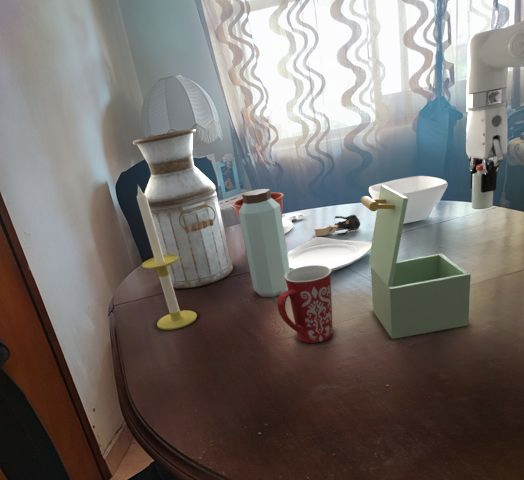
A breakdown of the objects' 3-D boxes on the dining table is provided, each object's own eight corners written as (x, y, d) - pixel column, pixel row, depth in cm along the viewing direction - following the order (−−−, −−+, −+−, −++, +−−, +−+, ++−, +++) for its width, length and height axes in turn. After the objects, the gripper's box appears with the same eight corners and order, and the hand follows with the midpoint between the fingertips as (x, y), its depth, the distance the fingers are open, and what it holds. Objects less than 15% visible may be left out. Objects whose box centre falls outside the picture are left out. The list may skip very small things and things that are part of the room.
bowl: (363, 221, 163) (361, 187, 157) (422, 207, 164) (422, 173, 159) (389, 235, 143) (388, 197, 138) (456, 220, 145) (457, 182, 140)
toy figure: (318, 241, 151) (363, 230, 151) (315, 222, 149) (360, 211, 149) (315, 238, 158) (358, 228, 158) (311, 220, 156) (355, 209, 155)
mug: (315, 320, 100) (308, 261, 94) (346, 331, 94) (340, 268, 87) (271, 344, 94) (260, 283, 88) (301, 357, 88) (291, 292, 81)
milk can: (247, 272, 136) (218, 125, 117) (180, 296, 128) (138, 142, 109) (214, 257, 155) (184, 128, 136) (154, 276, 148) (114, 143, 129)
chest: (440, 299, 99) (441, 253, 94) (468, 325, 88) (470, 274, 83) (373, 311, 100) (370, 266, 95) (392, 339, 88) (389, 289, 83)
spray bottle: (255, 238, 167) (282, 219, 186) (283, 237, 162) (308, 218, 181) (254, 230, 166) (281, 212, 184) (282, 228, 161) (307, 210, 179)
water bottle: (293, 294, 115) (278, 192, 103) (254, 301, 116) (234, 200, 104) (291, 280, 124) (276, 184, 112) (254, 286, 125) (236, 191, 113)
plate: (264, 270, 135) (262, 261, 134) (316, 243, 149) (315, 235, 148) (331, 281, 119) (330, 271, 118) (383, 250, 133) (382, 241, 131)
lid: (384, 185, 87) (357, 184, 87) (408, 198, 76) (377, 197, 75) (372, 264, 94) (347, 263, 94) (392, 286, 83) (363, 286, 83)
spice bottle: (489, 203, 109) (491, 161, 105) (495, 207, 105) (497, 164, 101) (469, 206, 110) (470, 164, 105) (474, 210, 106) (475, 167, 102)
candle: (188, 307, 120) (153, 177, 104) (203, 319, 111) (166, 180, 96) (152, 321, 116) (110, 188, 101) (164, 334, 108) (120, 191, 93)
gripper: (526, 95, 90) (519, 192, 98) (484, 97, 104) (481, 181, 113) (487, 103, 90) (484, 199, 98) (451, 104, 105) (451, 187, 113)
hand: (482, 188), depth 106 cm, fingers closed on spice bottle, 4 cm apart
